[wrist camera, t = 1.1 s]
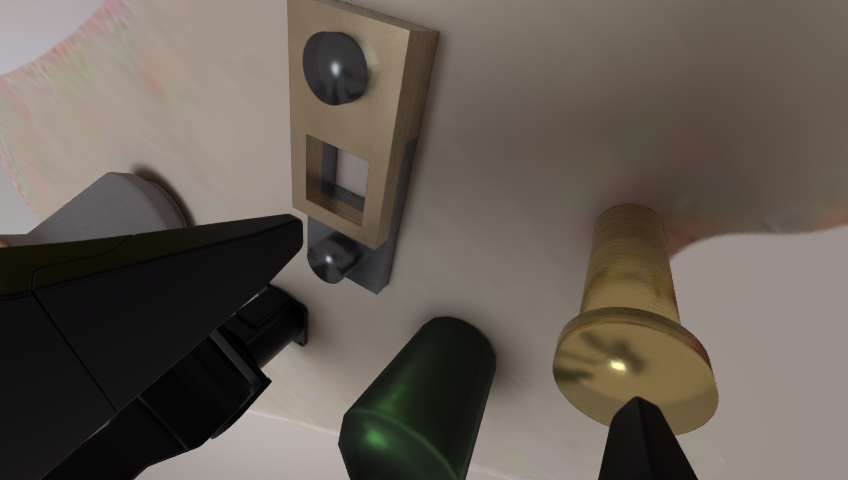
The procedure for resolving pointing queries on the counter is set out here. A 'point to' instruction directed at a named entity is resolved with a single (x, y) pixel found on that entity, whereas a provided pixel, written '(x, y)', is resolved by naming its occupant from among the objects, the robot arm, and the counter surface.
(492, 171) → the counter surface
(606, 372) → the pin
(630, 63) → the counter surface
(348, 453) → the potion bottle
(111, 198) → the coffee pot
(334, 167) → the knobbed window plate
